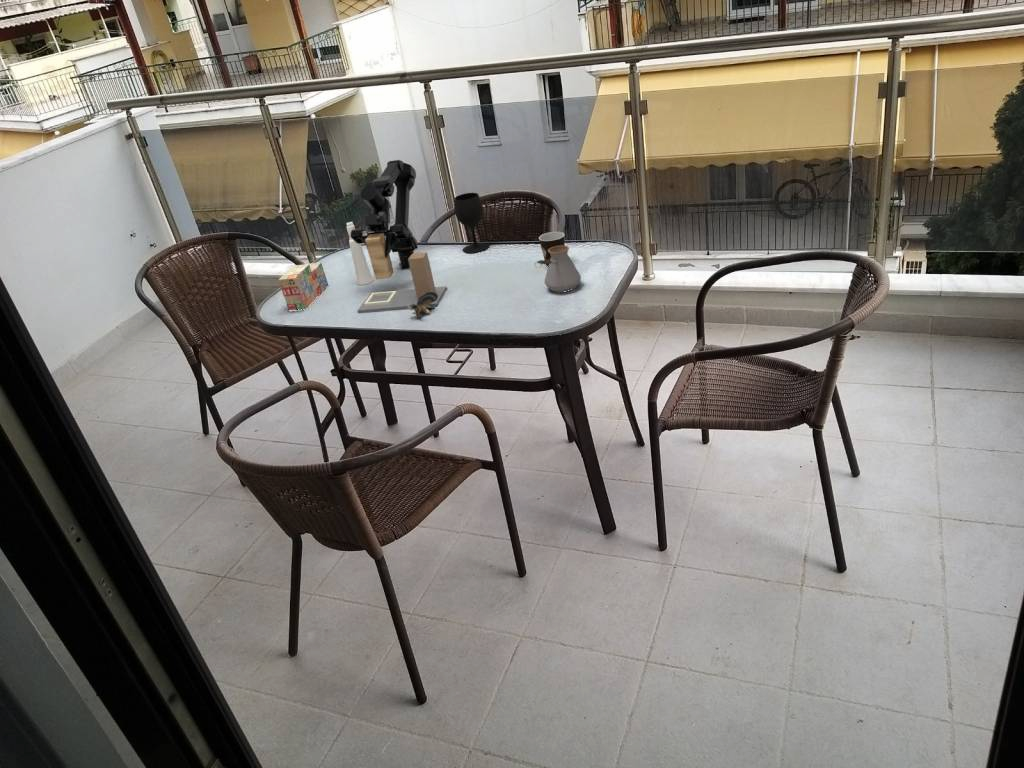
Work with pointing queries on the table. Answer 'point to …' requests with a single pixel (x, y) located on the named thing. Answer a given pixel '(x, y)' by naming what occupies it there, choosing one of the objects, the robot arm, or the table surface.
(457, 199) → the wine glass
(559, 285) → the coffee pot
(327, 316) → the table surface
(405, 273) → the table surface
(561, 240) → the coffee mug
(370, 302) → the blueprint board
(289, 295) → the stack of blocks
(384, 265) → the oak block
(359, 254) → the cosmetic bottle
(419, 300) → the chipmunk figurine
